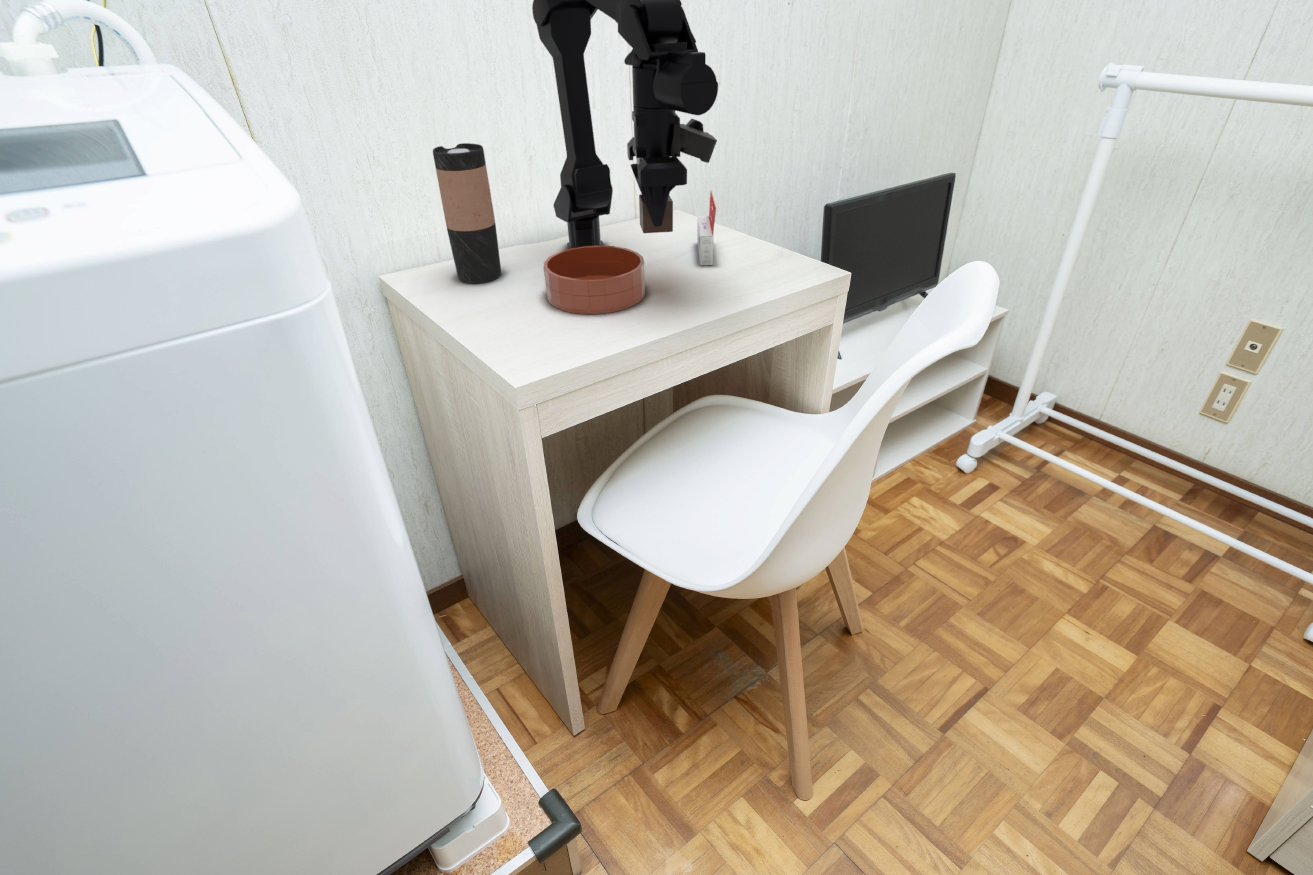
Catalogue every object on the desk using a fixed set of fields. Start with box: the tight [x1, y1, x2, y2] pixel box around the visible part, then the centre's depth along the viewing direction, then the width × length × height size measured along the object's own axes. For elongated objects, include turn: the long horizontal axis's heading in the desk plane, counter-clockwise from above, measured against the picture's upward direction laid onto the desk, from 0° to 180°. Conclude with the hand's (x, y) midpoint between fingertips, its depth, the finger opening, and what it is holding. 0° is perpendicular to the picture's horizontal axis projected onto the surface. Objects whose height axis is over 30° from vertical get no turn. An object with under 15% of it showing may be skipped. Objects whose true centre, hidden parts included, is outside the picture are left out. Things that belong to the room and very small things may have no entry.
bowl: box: [543, 245, 646, 315], centre depth 103 cm, size 15×15×5 cm
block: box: [638, 194, 674, 234], centre depth 98 cm, size 4×4×4 cm
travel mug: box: [432, 142, 502, 285], centre depth 106 cm, size 8×8×20 cm
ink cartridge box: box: [696, 190, 717, 266], centre depth 115 cm, size 2×11×10 cm, turn 0°
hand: (655, 221), depth 99 cm, fingers closed on block, 4 cm apart
